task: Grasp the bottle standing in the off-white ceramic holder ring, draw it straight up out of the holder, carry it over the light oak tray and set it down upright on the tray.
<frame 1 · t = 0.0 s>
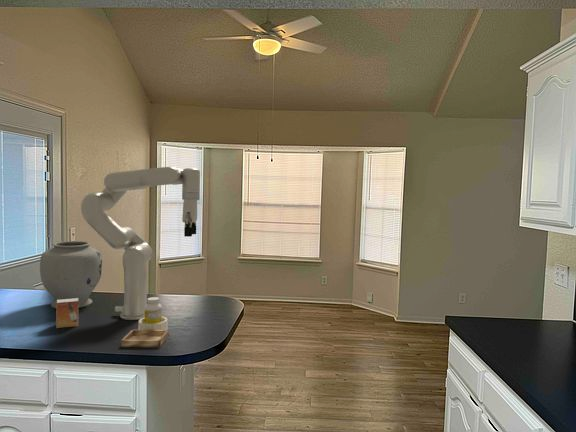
hand: (190, 235, 186), 37 cm above the worktop, tool pointing down, fingers open, 9 cm apart
small box: (67, 325, 173), on the worktop
grey ceramic vase: (71, 304, 203), on the worktop
tray: (145, 341, 157), on the worktop
supplement bottle: (153, 330, 170), resting in holder
holder: (153, 329, 170), on the worktop
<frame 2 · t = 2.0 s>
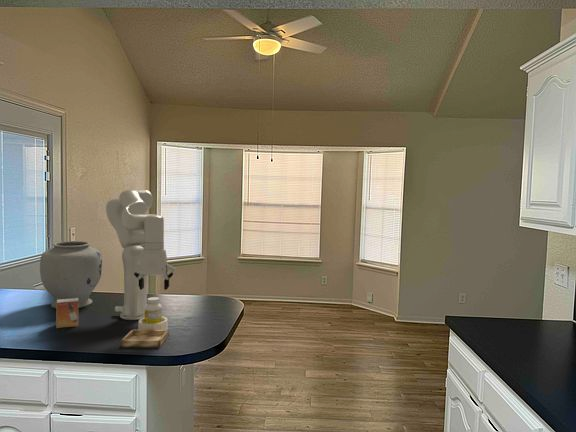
hand: (153, 289, 168), 17 cm above the worktop, tool pointing down, fingers open, 9 cm apart
nothing on the worktop moved.
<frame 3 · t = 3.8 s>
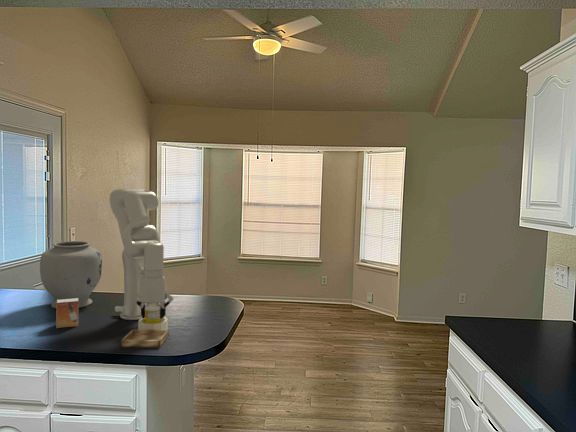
hand: (153, 317, 169), 5 cm above the worktop, tool pointing down, fingers closed on supplement bottle, 6 cm apart
supplement bottle: (153, 330, 170), resting in holder, touching gripper
everything else where it was.
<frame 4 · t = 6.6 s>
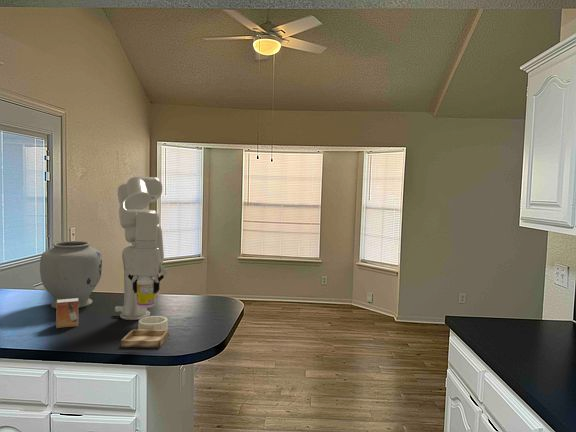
hand: (146, 292, 156), 19 cm above the worktop, tool pointing down, fingers closed on supplement bottle, 6 cm apart
supplement bottle: (146, 306, 156), point 13 cm above the worktop, touching gripper
everything else where it was.
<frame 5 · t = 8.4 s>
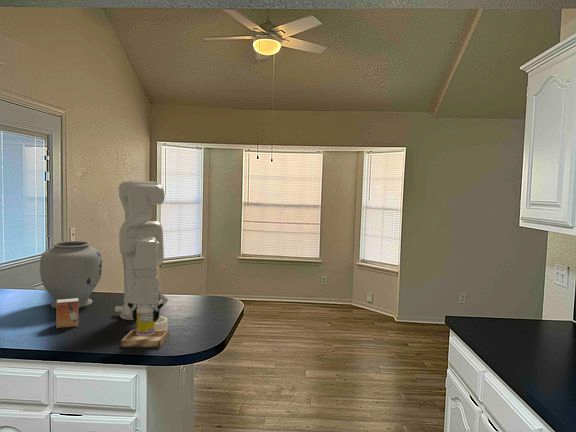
hand: (145, 320, 156), 8 cm above the worktop, tool pointing down, fingers closed on supplement bottle, 6 cm apart
supplement bottle: (145, 334, 157), point 3 cm above the worktop, touching gripper
everything else where it was.
when the fingers open (7 cm above the worktop, at t = 9.6 s): supplement bottle drops 1 cm, resting on tray.
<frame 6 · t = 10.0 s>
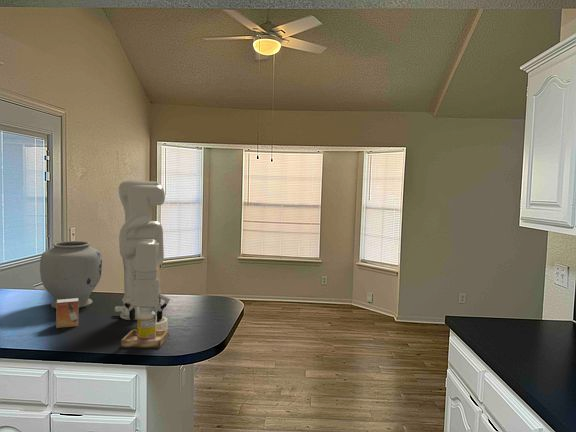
hand: (145, 320, 156), 8 cm above the worktop, tool pointing down, fingers open, 9 cm apart
supplement bottle: (146, 340, 157), resting on tray
everything else where it was.
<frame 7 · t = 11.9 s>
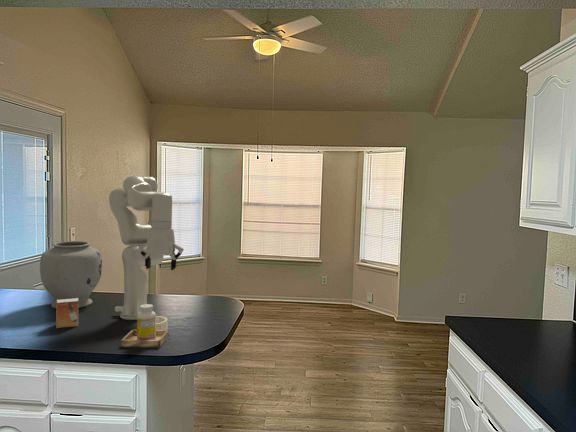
hand: (160, 268, 164), 26 cm above the worktop, tool pointing down, fingers open, 9 cm apart
nothing on the worktop moved.
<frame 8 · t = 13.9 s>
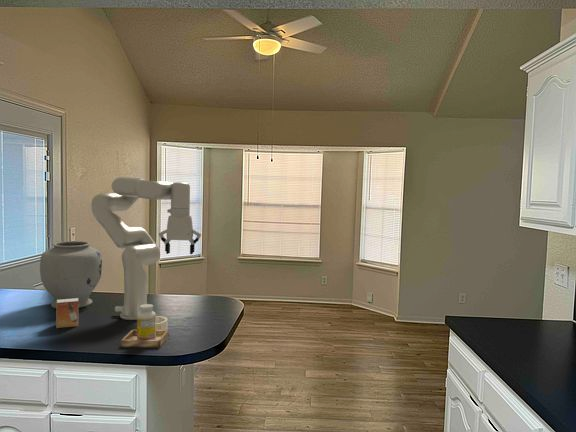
hand: (179, 253, 174), 30 cm above the worktop, tool pointing down, fingers open, 9 cm apart
nothing on the worktop moved.
at the end: supplement bottle inside the target area on the tray (0.3 cm from its centre), point 0.4 cm above the tray's base; supplement bottle tilted 0°; the gripper is holding nothing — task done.
